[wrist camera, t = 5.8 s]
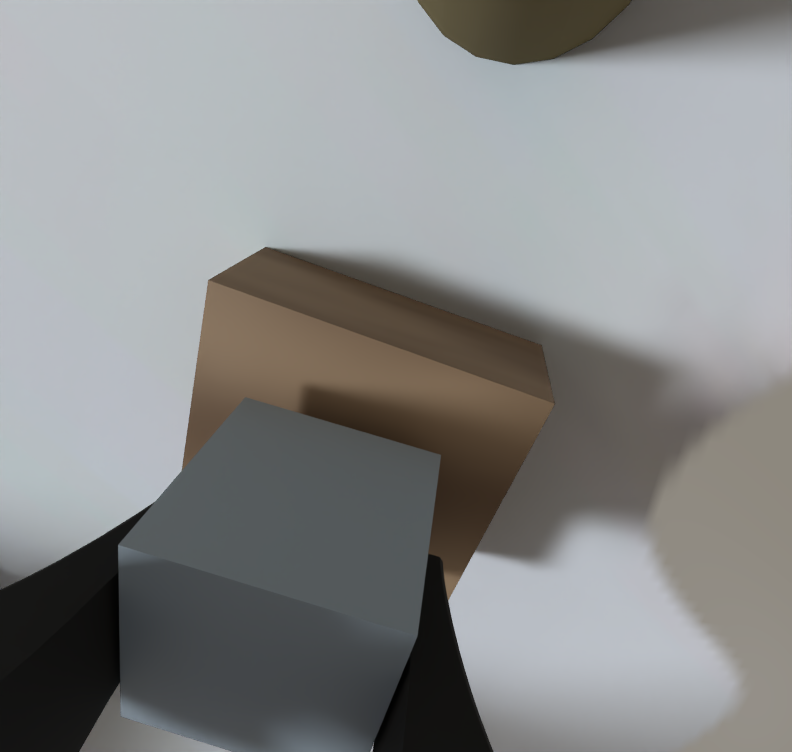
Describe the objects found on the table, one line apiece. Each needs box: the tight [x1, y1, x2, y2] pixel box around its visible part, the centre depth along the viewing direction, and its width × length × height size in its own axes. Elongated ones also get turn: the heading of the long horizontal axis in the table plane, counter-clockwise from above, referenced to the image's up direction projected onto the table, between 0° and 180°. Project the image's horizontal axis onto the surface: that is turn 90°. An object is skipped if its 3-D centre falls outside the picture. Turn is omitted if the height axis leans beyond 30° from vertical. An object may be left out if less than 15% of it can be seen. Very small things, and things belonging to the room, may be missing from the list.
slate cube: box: [118, 397, 441, 752], centre depth 12 cm, size 5×5×5 cm
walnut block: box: [182, 247, 555, 600], centre depth 17 cm, size 9×9×4 cm
